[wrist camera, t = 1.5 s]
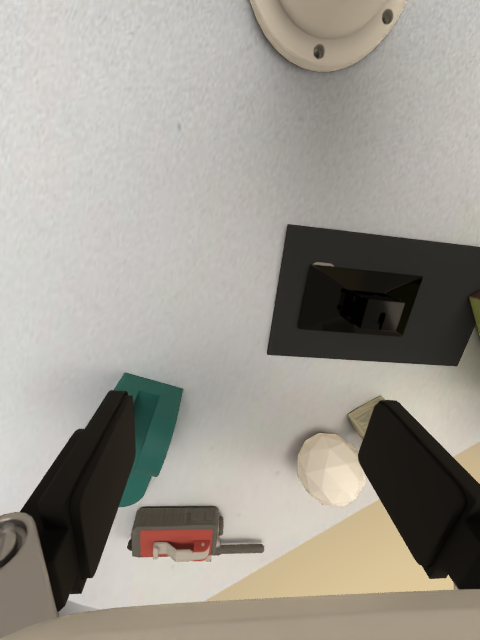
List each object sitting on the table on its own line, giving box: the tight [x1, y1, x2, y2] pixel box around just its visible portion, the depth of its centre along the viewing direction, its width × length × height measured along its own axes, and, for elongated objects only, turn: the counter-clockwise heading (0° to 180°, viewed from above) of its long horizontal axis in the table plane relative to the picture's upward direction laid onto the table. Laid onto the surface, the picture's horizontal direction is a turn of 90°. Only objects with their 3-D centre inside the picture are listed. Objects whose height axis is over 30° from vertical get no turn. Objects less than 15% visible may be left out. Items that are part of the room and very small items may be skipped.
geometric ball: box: [298, 433, 366, 508], centre depth 32 cm, size 8×8×8 cm
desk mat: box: [267, 224, 480, 366], centre depth 29 cm, size 14×24×1 cm, turn 84°
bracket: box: [114, 373, 183, 507], centre depth 29 cm, size 18×7×8 cm, turn 158°
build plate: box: [297, 262, 423, 337], centre depth 26 cm, size 12×7×5 cm, turn 84°
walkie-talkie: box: [127, 507, 264, 562], centre depth 37 cm, size 9×4×20 cm
